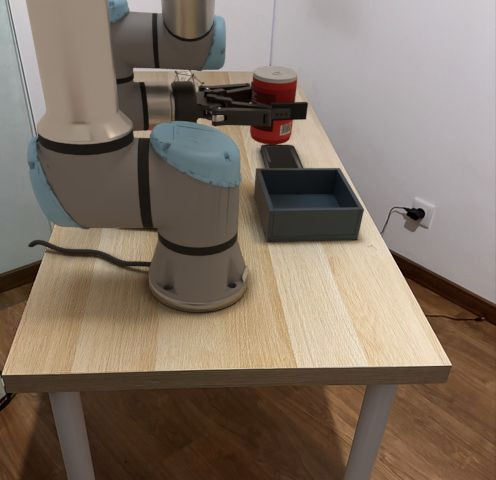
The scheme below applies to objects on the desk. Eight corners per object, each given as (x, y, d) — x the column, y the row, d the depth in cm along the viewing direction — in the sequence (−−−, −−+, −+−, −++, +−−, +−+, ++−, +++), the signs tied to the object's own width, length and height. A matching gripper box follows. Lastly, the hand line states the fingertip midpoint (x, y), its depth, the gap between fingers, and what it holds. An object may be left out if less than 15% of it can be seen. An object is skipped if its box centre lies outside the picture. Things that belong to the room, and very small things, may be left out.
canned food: (291, 131, 102) (298, 67, 94) (290, 147, 96) (297, 80, 88) (251, 127, 102) (255, 64, 94) (247, 143, 96) (251, 77, 88)
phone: (293, 144, 124) (305, 172, 113) (293, 149, 124) (305, 177, 113) (259, 144, 123) (268, 172, 112) (259, 149, 123) (268, 177, 113)
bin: (266, 241, 94) (269, 210, 90) (253, 197, 106) (255, 168, 102) (357, 239, 96) (364, 209, 92) (334, 196, 108) (339, 167, 104)
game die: (181, 117, 146) (156, 87, 139) (191, 97, 150) (168, 66, 143) (205, 107, 140) (181, 74, 134) (215, 86, 144) (192, 53, 137)
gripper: (164, 108, 101) (280, 105, 106) (181, 152, 86) (315, 145, 91) (162, 64, 96) (283, 63, 101) (180, 103, 81) (321, 99, 86)
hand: (298, 102), depth 96 cm, fingers closed on canned food, 8 cm apart
